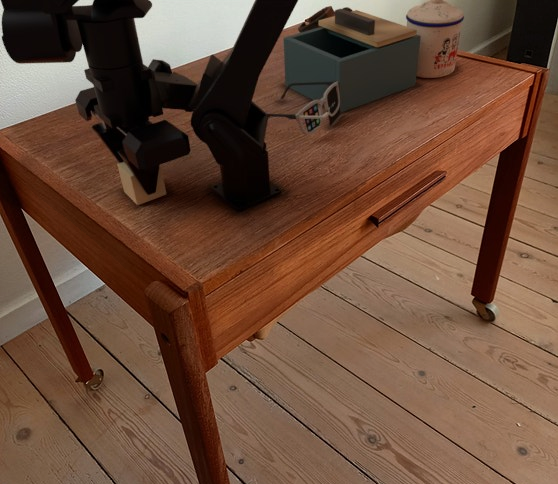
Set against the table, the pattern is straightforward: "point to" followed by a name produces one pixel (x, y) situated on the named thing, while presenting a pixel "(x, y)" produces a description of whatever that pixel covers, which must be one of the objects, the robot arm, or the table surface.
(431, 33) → the teacup with lid
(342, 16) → the sliding lid
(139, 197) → the block
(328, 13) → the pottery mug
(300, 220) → the table surface
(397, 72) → the box
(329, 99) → the smart glasses
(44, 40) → the robot arm
